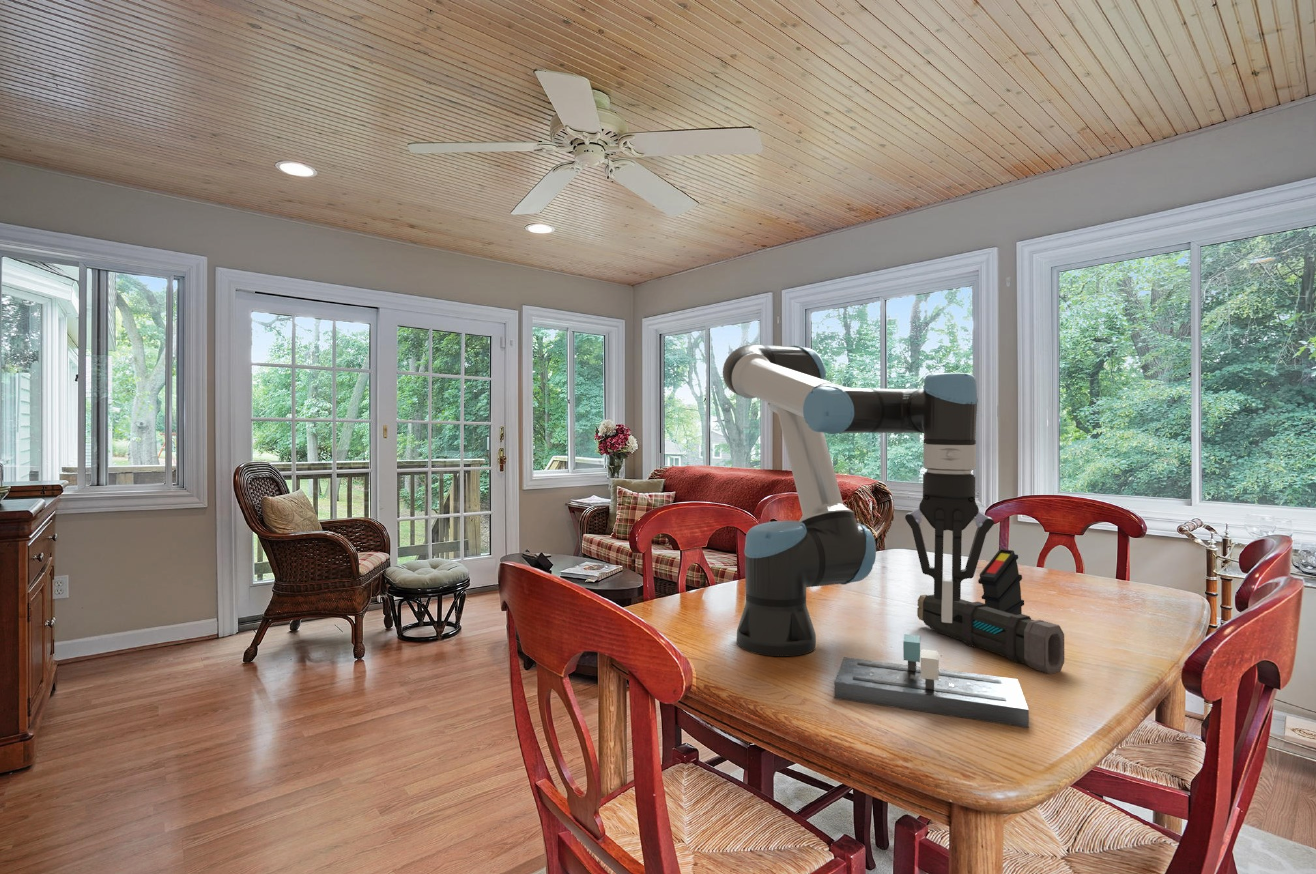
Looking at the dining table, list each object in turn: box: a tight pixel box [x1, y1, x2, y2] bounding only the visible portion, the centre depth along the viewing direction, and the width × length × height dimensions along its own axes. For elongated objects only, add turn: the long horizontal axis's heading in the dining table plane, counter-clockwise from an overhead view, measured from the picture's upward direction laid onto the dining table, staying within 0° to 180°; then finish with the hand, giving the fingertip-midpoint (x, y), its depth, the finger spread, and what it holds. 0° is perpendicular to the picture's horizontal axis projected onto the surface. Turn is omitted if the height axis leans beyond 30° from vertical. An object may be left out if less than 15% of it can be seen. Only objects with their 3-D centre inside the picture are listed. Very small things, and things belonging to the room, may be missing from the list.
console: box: [833, 656, 1030, 729], centre depth 97 cm, size 26×12×3 cm, turn 67°
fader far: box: [902, 633, 921, 671], centre depth 101 cm, size 2×4×5 cm, turn 157°
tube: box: [916, 594, 1065, 675], centre depth 120 cm, size 11×7×30 cm
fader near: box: [920, 648, 940, 689], centre depth 94 cm, size 2×4×5 cm, turn 157°
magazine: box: [977, 548, 1025, 615], centre depth 138 cm, size 4×13×15 cm, turn 127°
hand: (946, 620), depth 100 cm, fingers closed
